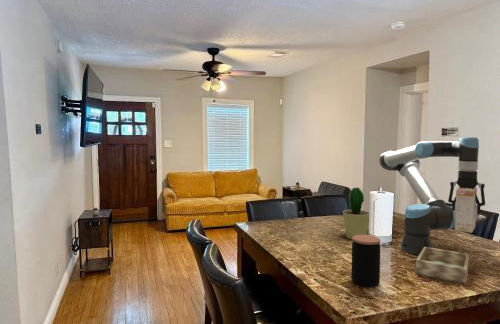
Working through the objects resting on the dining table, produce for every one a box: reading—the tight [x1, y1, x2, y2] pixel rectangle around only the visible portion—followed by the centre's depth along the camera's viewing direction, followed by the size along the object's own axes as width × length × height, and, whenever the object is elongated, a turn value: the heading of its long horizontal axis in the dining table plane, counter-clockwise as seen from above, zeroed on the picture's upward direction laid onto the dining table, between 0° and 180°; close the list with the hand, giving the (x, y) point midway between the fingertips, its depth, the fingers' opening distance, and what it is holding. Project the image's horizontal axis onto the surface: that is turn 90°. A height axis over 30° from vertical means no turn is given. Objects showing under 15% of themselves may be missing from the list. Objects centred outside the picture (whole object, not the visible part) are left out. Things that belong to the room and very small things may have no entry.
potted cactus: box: [342, 187, 370, 240], centre depth 195 cm, size 15×15×30 cm
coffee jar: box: [350, 234, 381, 289], centre depth 133 cm, size 11×11×18 cm
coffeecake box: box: [454, 186, 478, 234], centre depth 157 cm, size 15×7×20 cm, turn 141°
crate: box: [415, 247, 470, 285], centre depth 145 cm, size 18×22×6 cm
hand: (465, 218), depth 158 cm, fingers closed on coffeecake box, 7 cm apart
